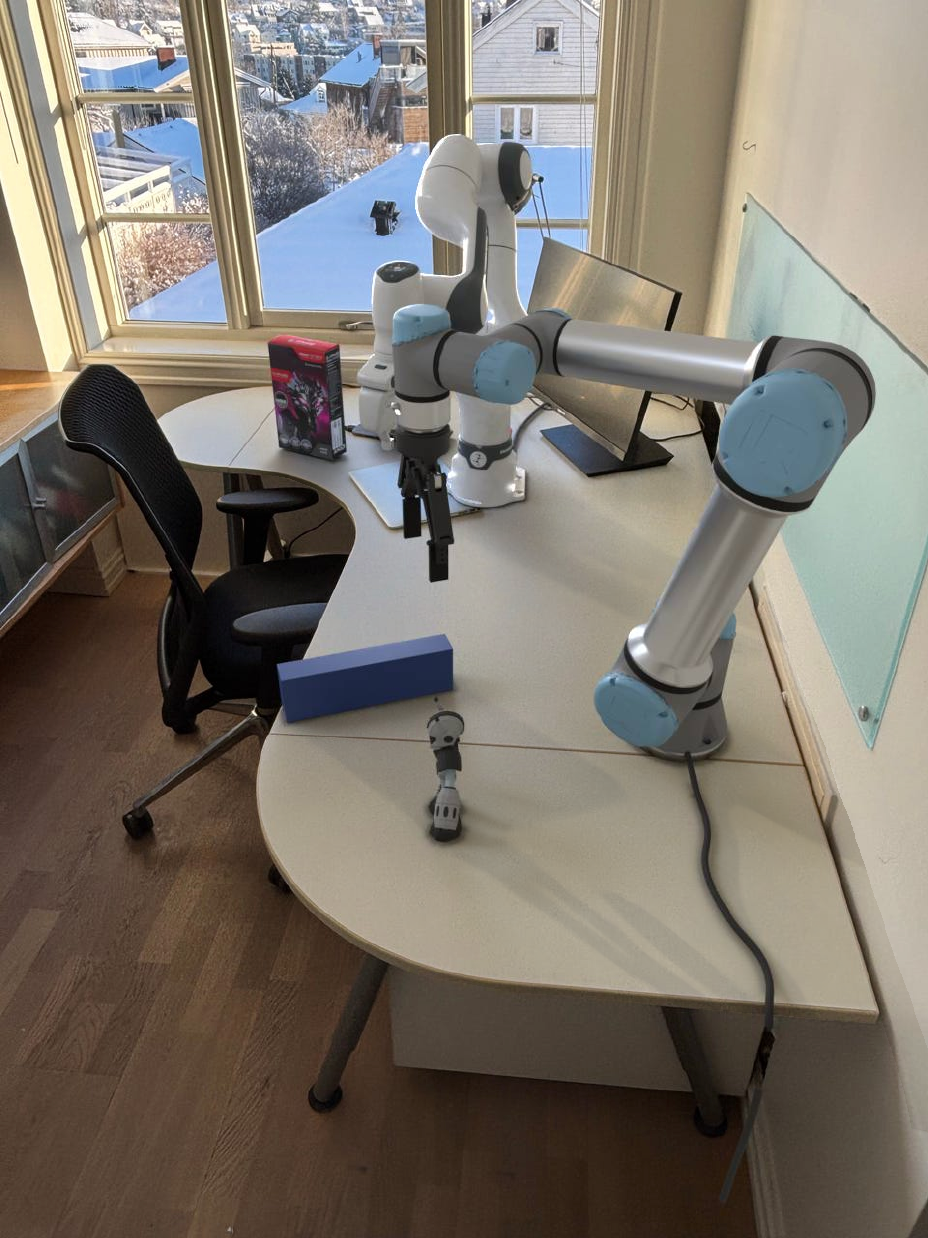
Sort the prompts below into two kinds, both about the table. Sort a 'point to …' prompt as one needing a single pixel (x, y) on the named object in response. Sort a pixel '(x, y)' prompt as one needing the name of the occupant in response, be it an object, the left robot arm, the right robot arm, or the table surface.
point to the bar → (365, 677)
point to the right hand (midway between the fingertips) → (425, 557)
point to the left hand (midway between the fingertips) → (402, 439)
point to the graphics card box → (308, 395)
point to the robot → (446, 772)
